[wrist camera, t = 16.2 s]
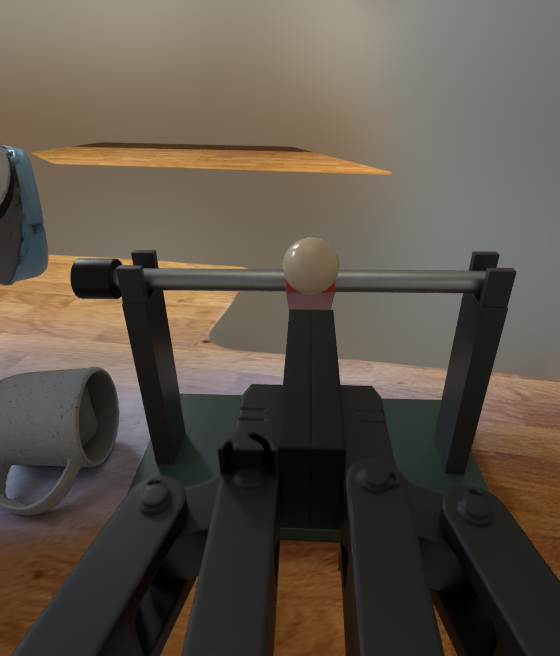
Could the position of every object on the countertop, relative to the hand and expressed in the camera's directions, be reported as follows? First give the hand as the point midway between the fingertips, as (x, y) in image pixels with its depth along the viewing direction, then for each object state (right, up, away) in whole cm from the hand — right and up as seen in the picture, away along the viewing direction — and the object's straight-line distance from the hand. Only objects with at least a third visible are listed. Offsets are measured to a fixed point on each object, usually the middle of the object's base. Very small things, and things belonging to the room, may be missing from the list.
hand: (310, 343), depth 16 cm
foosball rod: (-1, +2, +24) cm, 24 cm away
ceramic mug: (-19, -11, +21) cm, 30 cm away
